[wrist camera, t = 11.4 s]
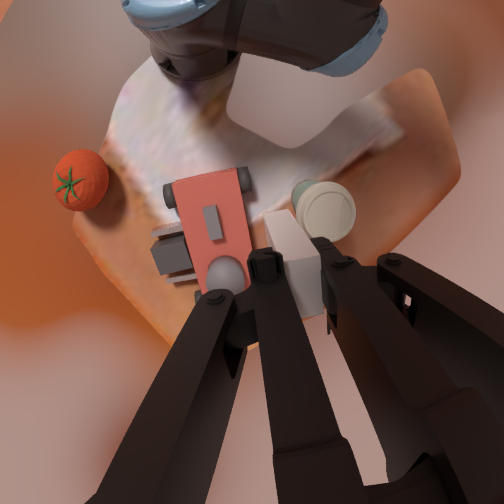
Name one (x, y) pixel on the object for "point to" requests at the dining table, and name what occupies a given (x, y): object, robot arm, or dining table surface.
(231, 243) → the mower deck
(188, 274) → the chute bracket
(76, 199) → the tomato
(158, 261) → the grey cube
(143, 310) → the dining table surface
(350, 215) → the coffee cup
